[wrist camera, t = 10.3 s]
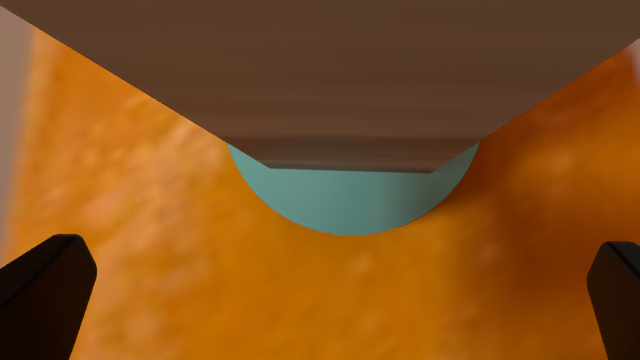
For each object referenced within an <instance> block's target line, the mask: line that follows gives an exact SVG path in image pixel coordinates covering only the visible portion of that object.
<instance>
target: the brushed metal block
mask: <svg viewBox="0 0 640 360" xmlns="http://www.w3.org/2000/svg"><path fill="white" fill-rule="evenodd" d="M0 5H1V6H2V7H4V8H6V9H7V10H9V11H11V12H12V13H14V14H15V15H17V16H19V17H20V18H22V19H24V20H25V21H27V22H29V23H30V24H32V25H34V26H35V27H37V28H39V29H40V30H42V31H43V32H45V33H47V34H48V35H50V36H52V37H53V38H55V39H57V40H58V41H60V42H62V43H63V44H65V45H67V46H68V47H70V48H72V49H73V50H75V51H76V52H78V53H80V54H81V55H83V56H85V57H86V58H88V59H90V60H91V61H93V62H95V63H96V64H98V65H100V66H101V67H103V68H105V69H106V70H108V71H109V72H111V73H113V74H114V75H116V76H118V77H119V78H121V79H123V80H124V81H126V82H128V83H129V84H131V85H133V86H134V87H136V88H138V89H139V90H141V91H142V92H144V93H146V94H147V95H149V96H151V97H152V98H154V99H156V100H157V101H159V102H161V103H162V104H164V105H166V106H167V107H169V108H171V109H172V110H174V111H175V112H177V113H179V114H180V115H182V116H184V117H185V118H187V119H189V120H190V121H192V122H194V123H195V124H197V125H199V126H200V127H202V128H204V129H205V130H207V131H208V132H210V133H212V134H213V135H215V136H217V137H218V138H220V139H222V140H223V141H225V142H227V143H228V144H230V145H232V146H233V147H235V148H237V149H238V150H240V151H241V152H243V153H245V154H246V155H248V156H250V157H251V158H253V159H255V160H256V161H258V162H260V163H261V164H263V165H265V166H266V167H268V168H270V169H295V170H327V171H359V172H390V173H422V174H430V173H432V172H433V171H435V170H436V169H438V168H439V167H441V166H442V165H444V164H446V163H447V162H449V161H450V160H452V159H453V158H455V157H456V156H458V155H459V154H461V153H463V152H464V151H466V150H467V149H469V148H470V147H472V146H473V145H475V144H476V143H478V142H480V141H481V140H483V139H484V138H486V137H487V136H489V135H490V134H492V133H493V132H495V131H497V130H498V129H500V128H501V127H503V126H504V125H506V124H507V123H509V122H510V121H512V120H514V119H515V118H517V117H518V116H520V115H521V114H523V113H524V112H526V111H528V110H529V109H531V108H532V107H534V106H535V105H537V104H538V103H540V102H541V101H543V100H545V99H546V98H548V97H549V96H551V95H552V94H554V93H555V92H557V91H558V90H560V89H562V88H563V87H565V86H566V85H568V84H569V83H571V82H572V81H574V80H575V79H577V78H579V77H580V76H582V75H583V74H585V73H586V72H588V71H589V70H591V69H592V68H594V67H596V66H597V65H599V64H600V63H602V62H603V61H605V60H606V59H608V58H610V57H611V56H613V55H614V54H616V53H617V52H619V51H620V50H622V49H623V48H625V47H627V46H628V45H630V44H631V43H633V42H634V41H636V40H637V39H639V38H640V0H0Z"/></svg>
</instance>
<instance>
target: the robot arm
mask: <svg viewBox="0 0 640 360" xmlns="http://www.w3.org/2000/svg"><path fill="white" fill-rule="evenodd" d="M96 277H97V267H96V263H95V261H94V259H93V257H92V255H91V253H90V251H89V249H88V247H87V245H86V243H85V241H84V239H83V238H82V237H81V236H80V235H77V234H56V235H53V236H52V237H50V238H48V239H47V240H45V241H44V242H42V243H40V244H39V245H37V246H36V247H34V248H32V249H31V250H29V251H28V252H26V253H24V254H23V255H21V256H20V257H18V258H17V259H15V260H13V261H12V262H10V263H9V264H7V265H5V266H4V267H2V268H1V269H0V360H69V358H70V355H71V353H72V350H73V347H74V344H75V341H76V338H77V335H78V332H79V329H80V326H81V323H82V320H83V317H84V314H85V311H86V308H87V305H88V302H89V299H90V296H91V293H92V290H93V287H94V284H95V281H96ZM587 288H588V292H589V295H590V299H591V302H592V306H593V309H594V313H595V316H596V319H597V323H598V326H599V330H600V333H601V337H602V340H603V343H604V347H605V350H606V354H607V357H608V360H640V246H639V245H637V244H635V243H633V242H629V241H607V242H605V243H603V244H602V245H601V247H600V248H599V250H598V253H597V255H596V257H595V259H594V261H593V263H592V265H591V268H590V270H589V272H588V275H587Z"/></svg>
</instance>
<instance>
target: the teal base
mask: <svg viewBox="0 0 640 360" xmlns="http://www.w3.org/2000/svg"><path fill="white" fill-rule="evenodd" d="M479 143H480V142H478V143H476V144H475V145H473V146H472V147H470V148H469V149H467V150H466V151H464V152H463V153H461V154H459V155H458V156H456V157H455V158H453V159H452V160H450V161H449V162H447V163H446V164H444V165H442V166H441V167H439V168H438V169H436V170H435V171H433V172H432V173H430V174H422V173H390V172H359V171H327V170H295V169H270V168H268V167H266V166H265V165H263V164H261V163H260V162H258V161H256V160H255V159H253V158H251V157H250V156H248V155H246V154H245V153H243V152H241V151H240V150H238V149H237V148H235V147H233V146H232V145H230V144H228V147H229V150H230V153H231V155H232V158H233V160H234V162H235V164H236V166H237V168H238V170H239V172H240V173H241V175H242V176H243V178H244V179H245V181H246V183H247V184H248V185H249V186H250V187H251V189H252V190H253V191H254V192H255V193H256V195H257V196H258V197H259V198H261V199H262V200H263V201H264V202H265V203H266V204H267V205H268V206H269V207H271V208H272V209H273V210H275V211H276V212H278V213H279V214H281V215H282V216H284V217H285V218H287V219H289V220H291V221H293V222H295V223H297V224H299V225H302V226H304V227H307V228H310V229H313V230H316V231H320V232H325V233H330V234H338V235H368V234H374V233H379V232H384V231H388V230H391V229H394V228H397V227H400V226H403V225H405V224H407V223H409V222H411V221H413V220H415V219H417V218H419V217H421V216H422V215H424V214H425V213H427V212H428V211H430V210H431V209H433V208H434V207H435V206H437V205H438V204H439V203H440V202H441V201H442V200H443V199H445V198H446V197H447V196H448V195H449V194H450V192H451V191H452V190H453V189H454V188H455V187H456V186H457V184H458V183H459V182H460V180H461V179H462V177H463V176H464V174H465V173H466V171H467V170H468V168H469V166H470V164H471V162H472V160H473V158H474V156H475V154H476V152H477V149H478V146H479Z"/></svg>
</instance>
